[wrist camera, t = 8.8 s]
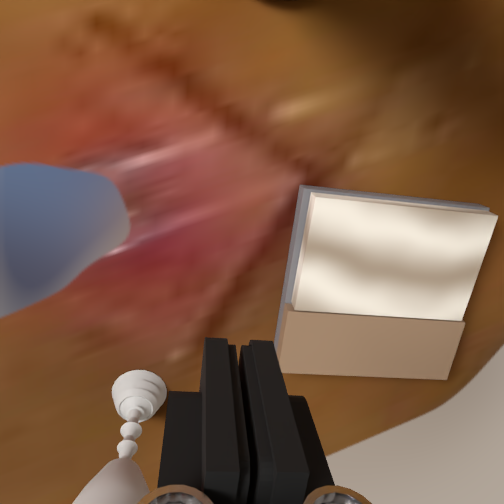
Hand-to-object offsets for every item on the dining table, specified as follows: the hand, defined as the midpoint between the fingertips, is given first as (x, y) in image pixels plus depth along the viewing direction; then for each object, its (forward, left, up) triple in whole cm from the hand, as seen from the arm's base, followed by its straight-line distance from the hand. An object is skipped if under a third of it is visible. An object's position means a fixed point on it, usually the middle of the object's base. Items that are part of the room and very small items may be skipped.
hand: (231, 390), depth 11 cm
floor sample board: (+7, +15, -25) cm, 30 cm away
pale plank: (+4, +15, -23) cm, 28 cm away
